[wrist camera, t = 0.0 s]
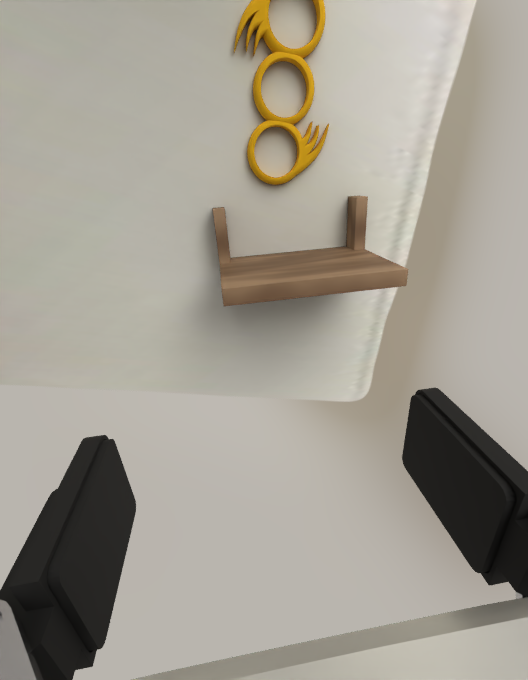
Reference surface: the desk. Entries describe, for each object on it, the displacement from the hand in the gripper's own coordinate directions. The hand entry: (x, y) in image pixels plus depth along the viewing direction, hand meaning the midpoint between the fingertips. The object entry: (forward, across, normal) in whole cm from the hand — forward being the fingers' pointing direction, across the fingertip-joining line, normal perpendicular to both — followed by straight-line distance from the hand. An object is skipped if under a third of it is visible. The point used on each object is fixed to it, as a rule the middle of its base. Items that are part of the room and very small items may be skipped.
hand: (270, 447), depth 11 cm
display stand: (+31, -7, -2) cm, 32 cm away
